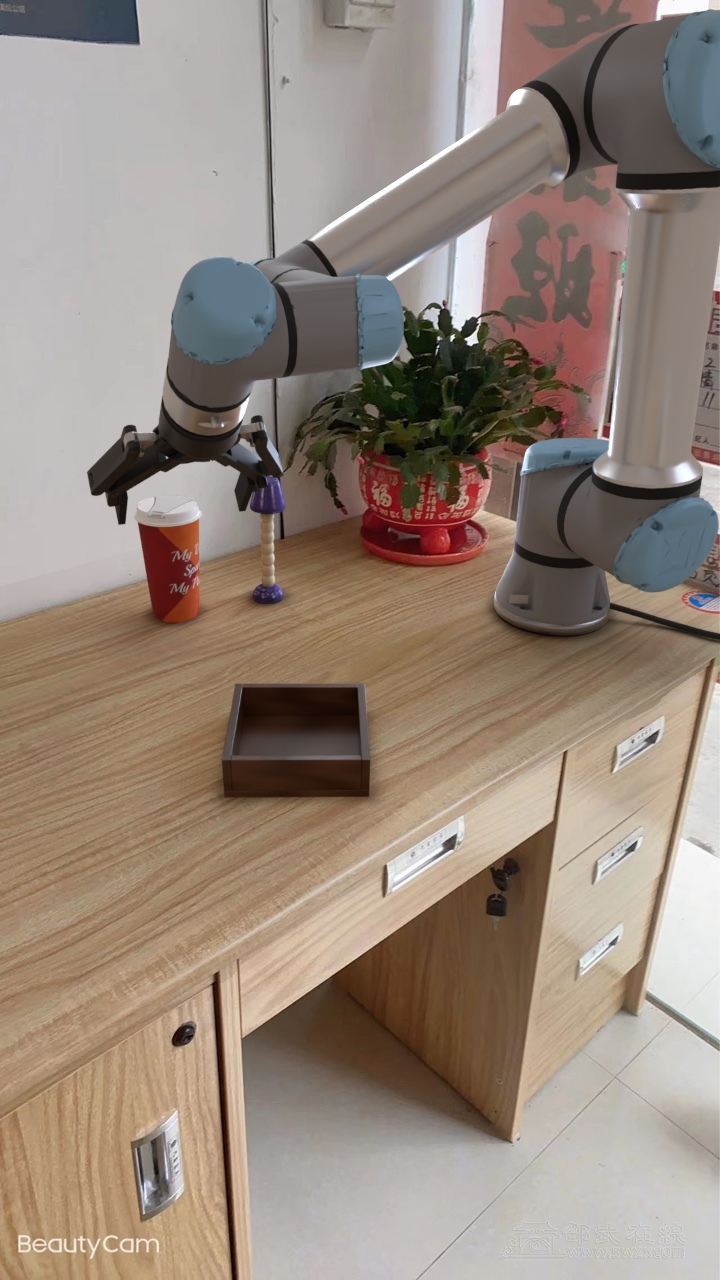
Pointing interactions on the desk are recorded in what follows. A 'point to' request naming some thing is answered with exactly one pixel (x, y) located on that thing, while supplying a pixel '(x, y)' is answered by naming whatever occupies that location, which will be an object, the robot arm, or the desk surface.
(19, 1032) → the desk surface
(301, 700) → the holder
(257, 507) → the toy lamp
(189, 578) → the coffee cup
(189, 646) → the desk surface
